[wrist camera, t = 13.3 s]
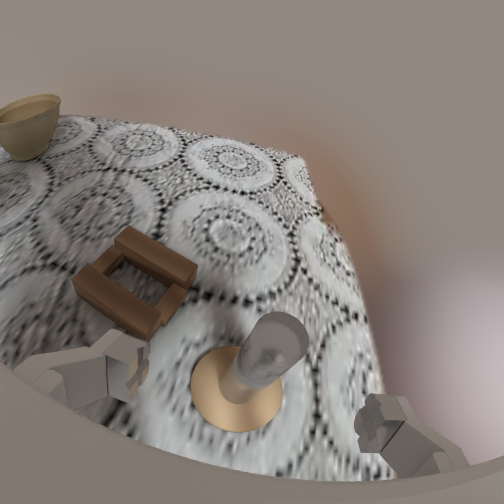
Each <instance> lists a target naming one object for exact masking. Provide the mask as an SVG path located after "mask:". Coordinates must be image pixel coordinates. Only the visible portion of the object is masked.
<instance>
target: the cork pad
mask: <svg viewBox="0 0 504 504" xmlns="http://www.w3.org/2000/svg"><path fill="white" fill-rule="evenodd" d="M240 349H241V347H240V346H226V347H221V348H218V349H215V350H213V351H211V352H209V353H208V354H206V355H205V356H204V357H203V358H202V359H201V360H200V361H199V362H198V364H197V365H196V367H195V369H194V371H193V374H192V377H191V383H190V390H191V396H192V400H193V403H194V405H195V407H196V409H197V410H198V412H199V413H200V414H201V416H202V417H203V418H204V419H205V420H206V421H208V422H209V423H210V424H212V425H214V426H215V427H217V428H220V429H222V430H225V431H229V432H248V431H252V430H255V429H257V428H259V427H261V426H263V425H265V424H266V423H267V422H269V421H270V420H271V419H272V418H273V417H274V416H275V414H276V413H277V411H278V409H279V407H280V404H281V400H282V384H281V380H280V377H279V378H278V379H277V380H276V381H274V382H273V383H272V384H271V385H269V386H268V387H267V388H266V389H264V390H263V391H262V392H261V393H259V394H258V395H257V396H256V397H254V398H253V399H252V400H250V401H249V402H247V403H245V404H233V403H231V402H229V401H227V400H226V399H225V398H224V397H223V396H222V394H221V392H220V388H219V383H220V380H221V378H222V376H223V375H224V373H225V372H226V370H227V369H228V367H229V366H230V364H231V362H232V361H233V359H234V358H235V356H236V355H237V353H238V352H239V350H240Z"/></svg>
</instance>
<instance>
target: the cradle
mask: <svg viewBox="0 0 504 504" xmlns="http://www.w3.org/2000/svg"><path fill="white" fill-rule="evenodd" d="M114 242H115V246H113V245H112V246H111V247H110V248H108V249H107V250H106V251H105V252H104V253H103V254H102V255H101V256H100V257H99V258H98V259H97V260H96V261H95V262H94V263H93V264H92V265H90V264H87V265H86V266H85V267H84V268H83V269H81V270H80V271H79V272H78V273H77V274H76V275H75V276H74V277H73V278H72V282H73V285H74V288H75V290H76V293H77V294H78V295H79V296H80V297H81V298H83V299H84V300H85V301H86V302H88V303H89V304H90V305H92V306H93V307H94V308H96V309H97V310H98V311H99V312H101V313H102V314H104V315H105V316H106V317H108V318H109V319H110V320H112V321H113V322H115V323H116V324H117V325H119V326H120V327H122V328H123V329H125V330H126V331H127V332H129V333H130V334H132V335H133V336H135V337H136V338H139V339H141V340H144V341H147V342H149V341H150V339H151V338H152V337H153V335H154V334H155V332H156V331H157V330H158V328H159V327H160V326H161V325H162V326H163V327H165V326H166V325H167V323H168V322H169V320H170V319H171V318H172V316H173V315H174V314H175V312H176V311H177V309H178V308H179V307H180V305H181V304H182V303H183V301H184V300H185V299H186V297H187V289H188V288H189V287H190V285H191V284H192V283H193V281H194V280H195V277H196V272H197V267H198V265H197V264H195V263H194V262H192V261H190V260H188V259H186V258H185V257H183V256H181V255H179V254H177V253H176V252H174V251H172V250H170V249H168V248H167V247H165V246H163V245H161V244H160V243H158V242H156V241H154V240H153V239H151V238H149V237H147V236H146V235H144V234H142V233H140V232H139V231H137V230H135V229H134V228H132V227H130V226H128V227H127V228H126V229H124V230H123V231H122V232H121V233H120V234H119V235H118V236H117V237H115V238H114ZM123 260H126V261H127V262H129V263H130V264H132V265H133V266H135V267H137V268H138V269H140V270H141V271H143V272H145V273H146V274H148V275H150V276H151V277H153V278H154V279H156V280H158V281H159V282H161V283H163V284H164V285H166V286H168V287H169V289H168V290H167V291H166V292H165V294H164V295H163V296H162V297H161V299H160V300H159V301H158V302H157V304H156V305H155V306H154V307H152V306H150V305H149V304H147V303H146V302H144V301H143V300H141V299H139V298H138V297H136V296H135V295H133V294H132V293H130V292H129V291H127V290H126V289H124V288H123V287H121V286H120V285H118V284H117V283H115V282H114V281H112V280H111V279H110V278H108V277H107V276H108V275H109V274H110V273H111V272H112V271H113V270H114V269H115V268H116V267H117V266H118V265H119V264H120V263H121V262H122V261H123Z"/></svg>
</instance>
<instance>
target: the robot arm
mask: <svg viewBox="0 0 504 504" xmlns="http://www.w3.org/2000/svg"><path fill="white" fill-rule="evenodd" d="M149 353H150V343H149V342H147V341H144V340H141V339H139V338H136V337H134V336H131V335H129V334H127V333H124V332H121V331H119V330H116V329H114V328H113V329H110V330H109V331H107V332H106V333H105V334H104V335H103V336H102V337H101V338H100V339H99V340H97V341H96V342H95V343H94V344H93V345H92V346H91V347H90V348H89V347H86V346H85V347H80V348H74V349H68V350H62V351H56V352H50V353H44V354H37V355H31V356H30V357H29V358H27V359H26V360H25V361H23V362H22V363H21V364H20V365H18V366H17V367H16V368H15V369H13V370H11V369H10V368H8V367H7V366H6V365H5V364H3V363H2V362H1V361H0V504H504V456H502V457H499V458H496V459H493V460H489V461H487V462H483V463H480V464H476V465H472V466H470V465H469V463H468V461H467V459H466V457H465V456H464V454H463V452H462V450H461V448H459V447H458V446H457V445H455V444H454V443H452V442H451V441H449V440H448V439H446V438H445V437H444V436H442V435H441V434H439V433H438V432H436V431H435V430H434V429H432V428H431V427H429V426H428V425H426V424H425V423H424V422H422V421H418V419H417V417H416V415H415V413H414V411H413V409H412V407H411V406H410V404H409V402H408V400H407V398H406V397H405V396H404V395H383V394H372V393H370V394H369V395H368V396H367V398H366V399H365V406H364V407H363V408H361V409H359V411H358V413H357V415H356V417H355V421H354V429H355V432H356V433H357V434H358V435H359V436H360V437H359V439H358V444H359V448H360V452H361V453H380V455H381V456H382V457H383V459H384V460H385V461H386V462H387V463H388V464H389V465H390V466H391V468H392V469H393V470H394V471H395V472H396V473H397V474H398V475H399V476H400V478H401V479H392V480H379V481H314V480H300V479H290V478H281V477H273V476H266V475H260V474H254V473H248V472H243V471H238V470H233V469H228V468H224V467H219V466H215V465H211V464H207V463H203V462H199V461H196V460H192V459H189V458H186V457H182V456H179V455H176V454H173V453H170V452H167V451H164V450H161V449H158V448H155V447H152V446H150V445H147V444H144V443H142V442H139V441H137V440H134V439H132V438H130V437H127V436H125V435H123V434H120V433H118V432H116V431H114V430H111V429H109V428H107V427H105V426H103V425H101V424H99V423H97V422H95V421H93V420H91V419H89V418H87V417H85V416H83V415H81V414H79V413H78V412H76V411H74V410H76V409H78V408H81V407H83V406H85V405H88V404H90V403H93V402H95V401H97V400H100V399H102V398H105V397H107V396H108V395H109V396H112V397H114V398H117V399H119V400H121V401H124V402H127V403H129V404H130V402H131V401H132V399H133V398H134V396H135V395H136V393H137V387H138V386H141V385H142V384H143V382H144V381H145V379H146V376H147V374H148V369H149V361H148V359H147V356H148V354H149Z"/></svg>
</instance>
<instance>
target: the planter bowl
mask: <svg viewBox="0 0 504 504" xmlns="http://www.w3.org/2000/svg"><path fill="white" fill-rule="evenodd" d="M60 101H61V99H60V96H59V95H57V94H50V93H48V94H47V93H46V94H37V95H33V96H28V97H25V98H22V99H19V100H16V101H14V102H12V103H10V104H8V105H6V106H4V107H3V108H1V109H0V144H1V146H2V147H3V148H4V149H5V150H6V151H7V152H8V153H9V154H11V157H12V159H13V160H15V161H26V160H30V159H33V158H35V157H37V156H39V155H41V154H42V153H43V152H45V151H46V150H47V148H48V146H49V141H50V139H51V137H52V135H53V133H54V131H55V128H56V125H57V122H58V117H59V105H60Z"/></svg>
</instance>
